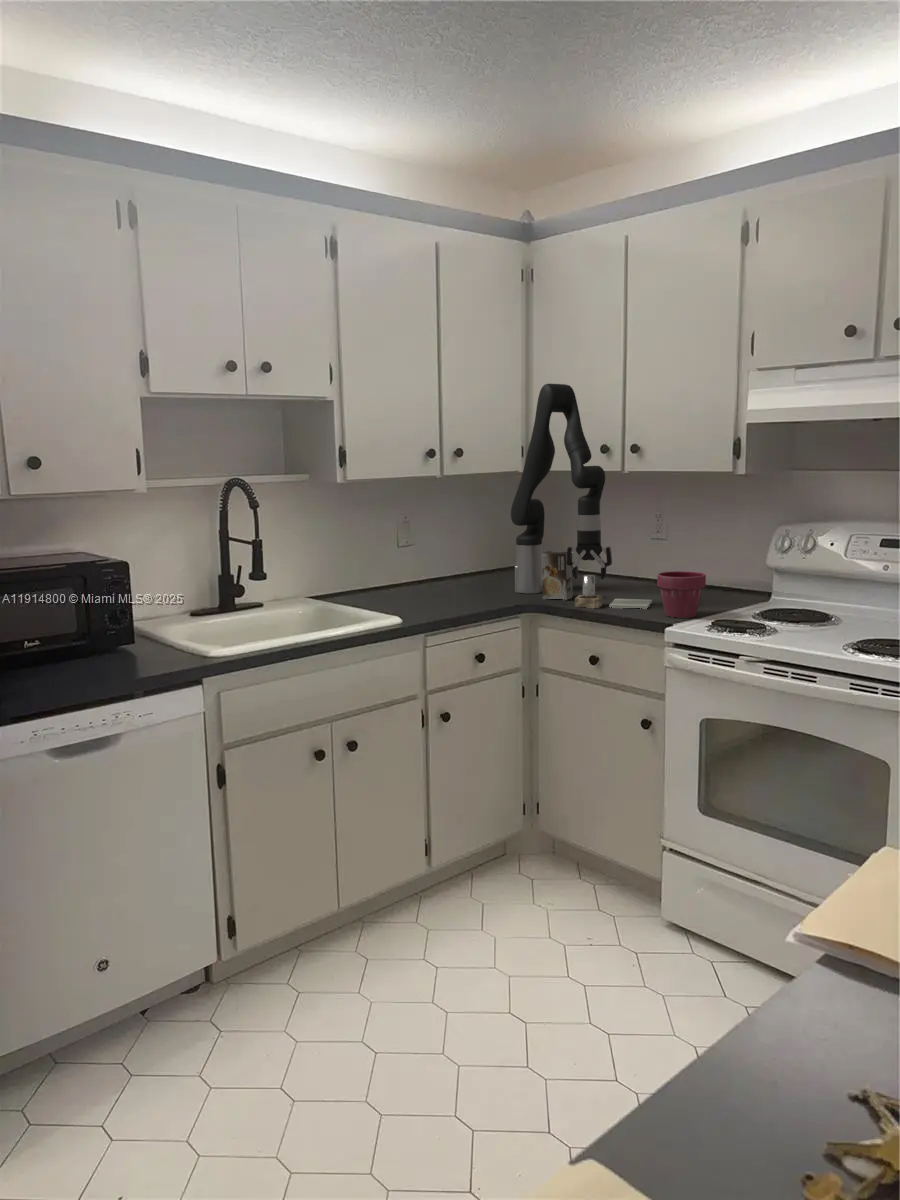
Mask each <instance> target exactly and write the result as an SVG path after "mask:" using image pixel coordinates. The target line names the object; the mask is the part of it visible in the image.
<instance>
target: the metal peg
mask: <svg viewBox="0 0 900 1200" xmlns="http://www.w3.org/2000/svg"><path fill="white" fill-rule="evenodd" d="M582 595H583V598H590V599H595V595H596V575H595V574H584V575H582Z"/></svg>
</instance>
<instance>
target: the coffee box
mask: <svg viewBox="0 0 900 1200" xmlns="http://www.w3.org/2000/svg"><path fill="white" fill-rule="evenodd" d="M573 594H574V593H573V568H572V566H569V565H567V551H560V550H559V551H555V550H553V551H551V550H547V551H544V552H542V600H546V599H563V600H562V601H566V600H567V599H569V600H571V599H573V598H574V596H573ZM572 597H573V598H572ZM570 598H571V599H570ZM564 599H565V600H564ZM567 601H568V600H567Z"/></svg>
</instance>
